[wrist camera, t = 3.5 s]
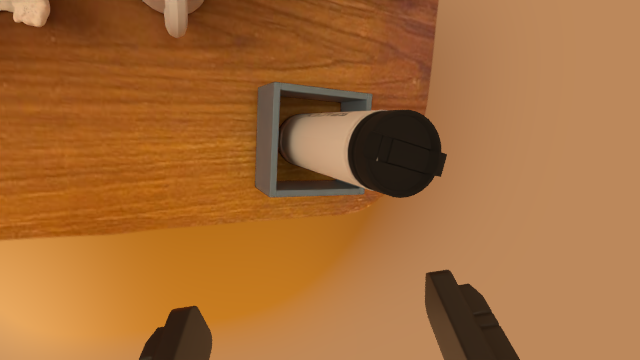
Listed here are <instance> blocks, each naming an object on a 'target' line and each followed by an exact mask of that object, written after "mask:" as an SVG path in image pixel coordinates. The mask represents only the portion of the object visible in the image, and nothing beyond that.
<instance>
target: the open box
mask: <svg viewBox="0 0 640 360" xmlns="http://www.w3.org/2000/svg"><path fill="white" fill-rule="evenodd" d="M280 96H284V97H294V98H303V99H312V100H322V101H331V102H340V103H341V111H340V112H352V111H371V105H372V94H367V93H360V92H352V91H344V90H336V89H328V88H320V87H312V86H304V85H296V84H288V83H280V82H273V83H270V84H267V85H264V86H262V87H259V88H258V112H257V143H256V174H255V187H256V188H258V189H259V190H260V191H262V192H263V193H265V194H266V195H267V196H269V197H296V196H328V195H359V194H364V190H365V188H362V187H360V186H357V185H354V184H351V183H348V182H345V181H342V180H339V179H336V180H323V181H277V160H278V136H279V112H280Z"/></svg>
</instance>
